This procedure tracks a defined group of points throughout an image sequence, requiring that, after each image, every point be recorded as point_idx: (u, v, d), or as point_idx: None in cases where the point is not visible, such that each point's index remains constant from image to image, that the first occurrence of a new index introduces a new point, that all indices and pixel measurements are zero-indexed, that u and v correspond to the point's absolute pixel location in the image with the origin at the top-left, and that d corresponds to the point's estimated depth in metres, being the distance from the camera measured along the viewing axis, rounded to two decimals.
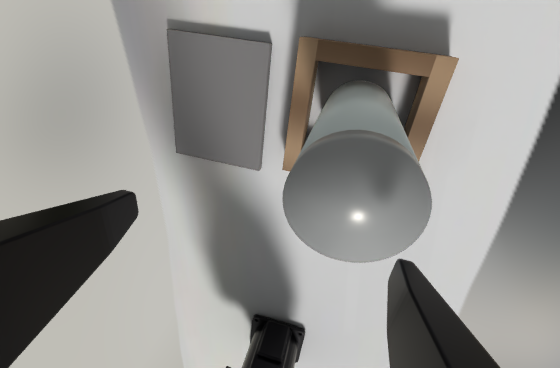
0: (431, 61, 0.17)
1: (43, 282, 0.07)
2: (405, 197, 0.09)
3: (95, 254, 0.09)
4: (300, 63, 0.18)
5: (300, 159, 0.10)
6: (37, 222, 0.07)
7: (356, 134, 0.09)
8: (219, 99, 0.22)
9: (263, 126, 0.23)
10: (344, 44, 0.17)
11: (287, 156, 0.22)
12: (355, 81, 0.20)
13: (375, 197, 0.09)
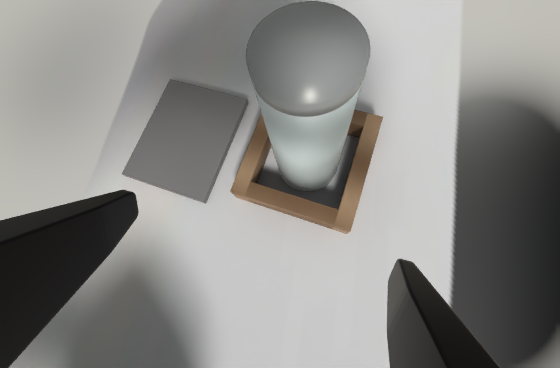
0: (364, 116, 0.22)
1: (43, 282, 0.07)
2: (349, 40, 0.11)
3: (95, 254, 0.09)
4: None
5: (270, 14, 0.12)
6: (37, 222, 0.07)
7: None
8: (190, 131, 0.25)
9: (222, 159, 0.24)
10: None
11: (239, 177, 0.22)
12: None
13: (326, 40, 0.11)
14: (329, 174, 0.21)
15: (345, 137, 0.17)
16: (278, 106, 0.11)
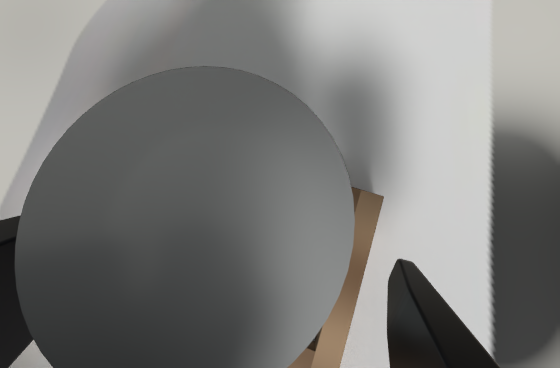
0: (356, 194, 0.15)
1: None
2: (297, 189, 0.04)
3: None
4: None
5: (108, 99, 0.05)
6: None
7: None
8: None
9: None
10: None
11: None
12: None
13: (235, 184, 0.04)
14: None
15: None
16: None
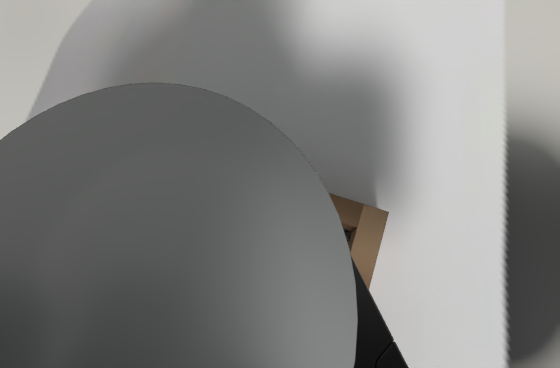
0: (358, 209, 0.14)
1: None
2: (275, 266, 0.03)
3: None
4: None
5: (26, 127, 0.04)
6: None
7: None
8: None
9: None
10: None
11: None
12: None
13: (185, 257, 0.03)
14: None
15: None
16: None
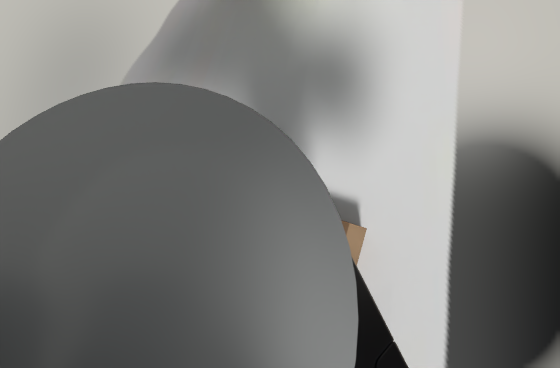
0: (345, 226, 0.20)
1: None
2: (275, 266, 0.03)
3: None
4: None
5: (27, 126, 0.04)
6: None
7: None
8: None
9: None
10: None
11: None
12: None
13: (186, 257, 0.03)
14: None
15: None
16: None
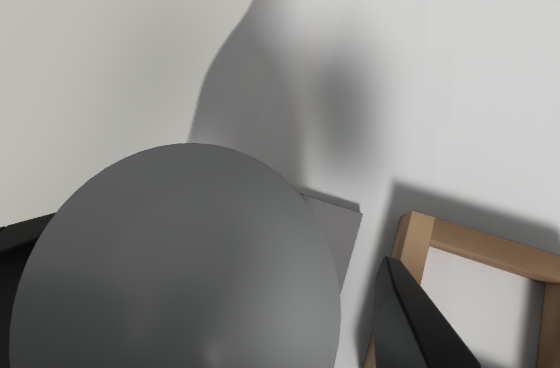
0: None
1: None
2: (285, 280, 0.04)
3: None
4: (412, 238, 0.15)
5: (100, 175, 0.05)
6: None
7: None
8: None
9: None
10: (466, 228, 0.15)
11: None
12: None
13: (223, 273, 0.04)
14: None
15: None
16: None
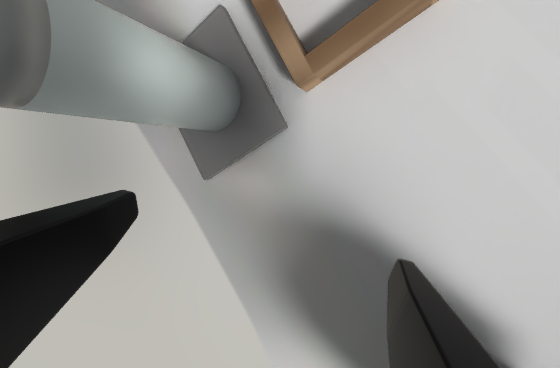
0: None
1: (43, 282, 0.07)
2: None
3: (95, 254, 0.09)
4: None
5: None
6: (37, 222, 0.07)
7: None
8: None
9: (260, 77, 0.20)
10: None
11: (291, 66, 0.17)
12: None
13: None
14: (219, 89, 0.18)
15: (161, 49, 0.14)
16: (15, 101, 0.10)
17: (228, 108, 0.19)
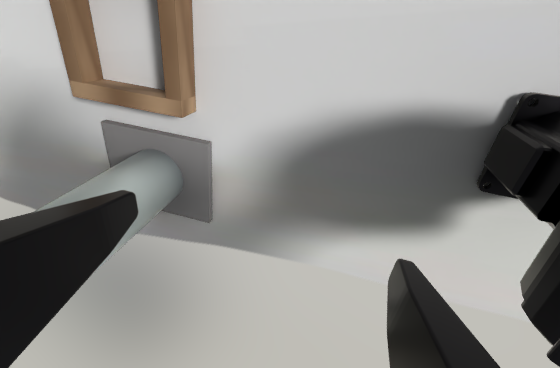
0: None
1: (43, 282, 0.07)
2: None
3: (95, 254, 0.09)
4: (88, 95, 0.22)
5: None
6: (37, 222, 0.07)
7: None
8: None
9: (165, 134, 0.23)
10: (64, 57, 0.21)
11: (166, 111, 0.21)
12: None
13: None
14: (150, 170, 0.22)
15: (92, 192, 0.18)
16: None
17: (169, 172, 0.23)
